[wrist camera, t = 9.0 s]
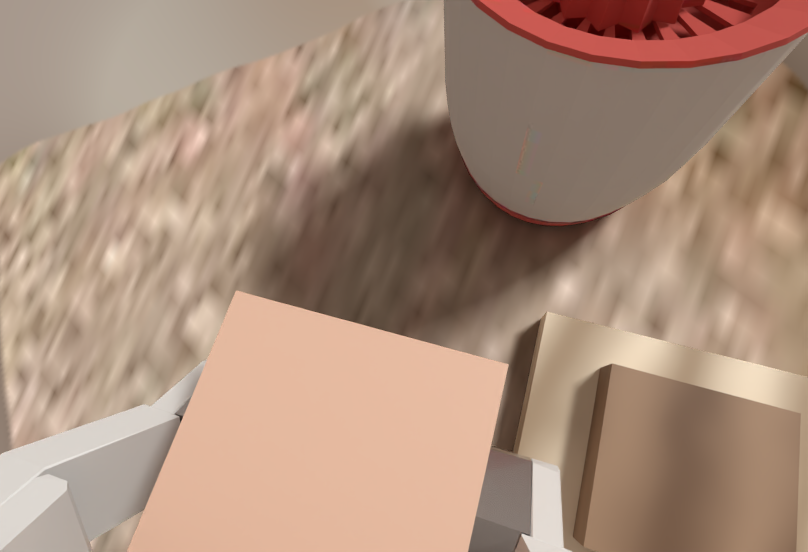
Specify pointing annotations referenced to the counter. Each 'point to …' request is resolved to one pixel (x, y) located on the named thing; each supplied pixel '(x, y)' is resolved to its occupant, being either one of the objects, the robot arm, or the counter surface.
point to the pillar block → (324, 441)
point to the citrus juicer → (600, 92)
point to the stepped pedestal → (666, 443)
